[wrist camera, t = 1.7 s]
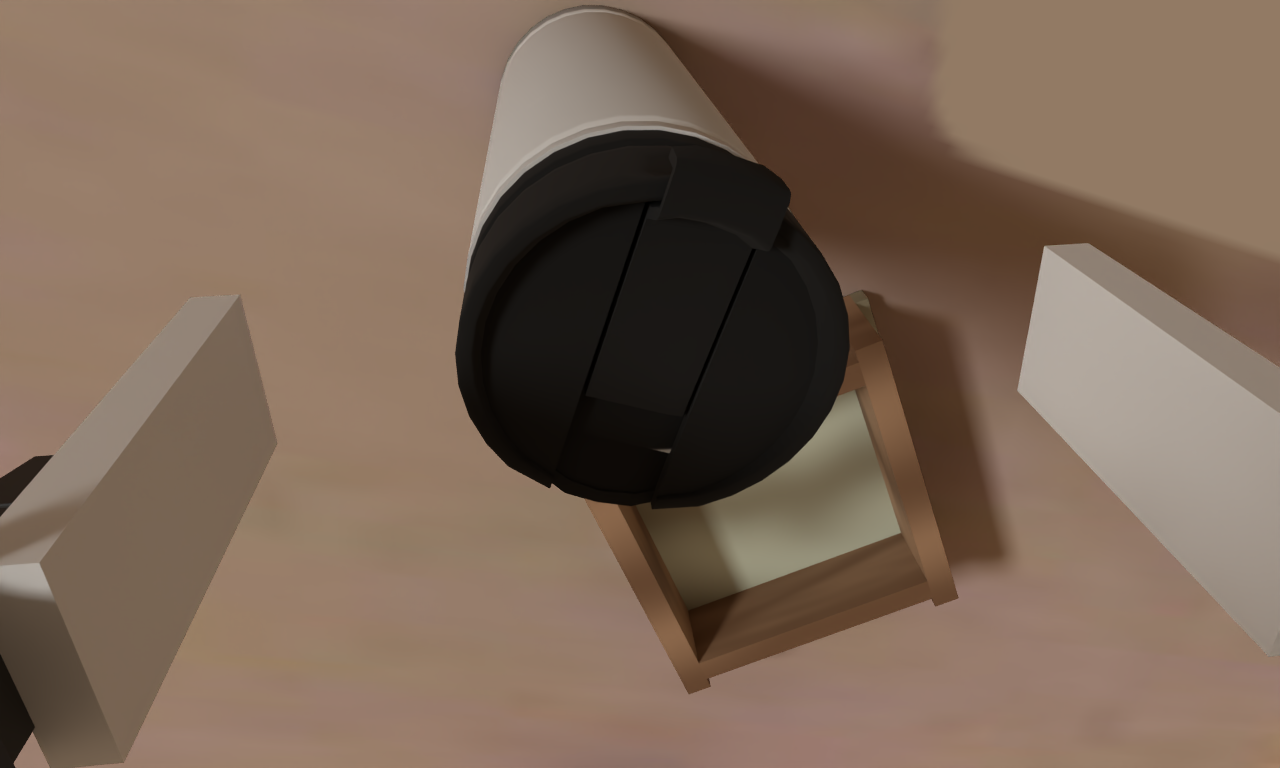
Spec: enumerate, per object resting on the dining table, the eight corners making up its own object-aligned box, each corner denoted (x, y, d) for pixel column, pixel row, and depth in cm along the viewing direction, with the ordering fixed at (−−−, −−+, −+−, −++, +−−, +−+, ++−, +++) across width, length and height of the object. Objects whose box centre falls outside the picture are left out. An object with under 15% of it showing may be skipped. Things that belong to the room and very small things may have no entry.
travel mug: (713, 27, 31) (944, 229, 13) (651, 213, 33) (773, 581, 16) (528, -34, 29) (511, 98, 12) (480, 165, 32) (408, 511, 15)
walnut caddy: (551, 412, 37) (552, 468, 34) (861, 290, 36) (896, 334, 32) (666, 631, 43) (678, 698, 40) (934, 534, 42) (970, 594, 38)
